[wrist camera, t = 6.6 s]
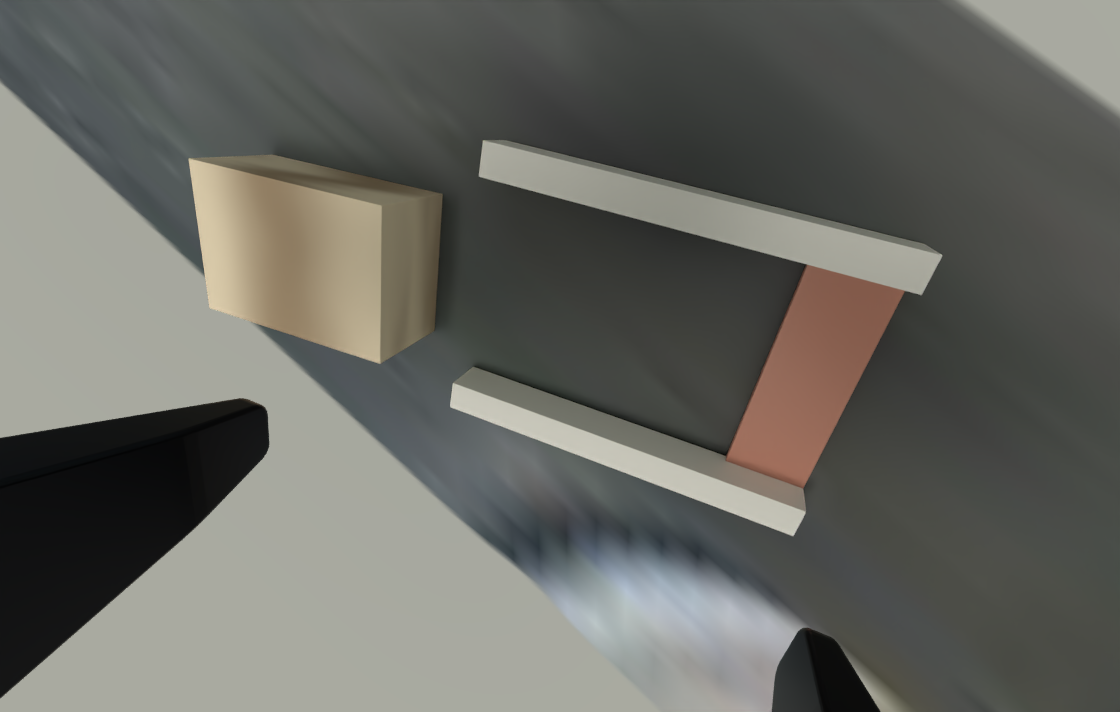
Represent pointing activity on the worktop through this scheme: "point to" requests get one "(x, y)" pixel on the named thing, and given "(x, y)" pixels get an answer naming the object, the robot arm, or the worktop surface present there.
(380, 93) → the worktop surface
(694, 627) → the worktop surface
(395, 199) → the birch block
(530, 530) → the worktop surface
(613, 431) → the channel
